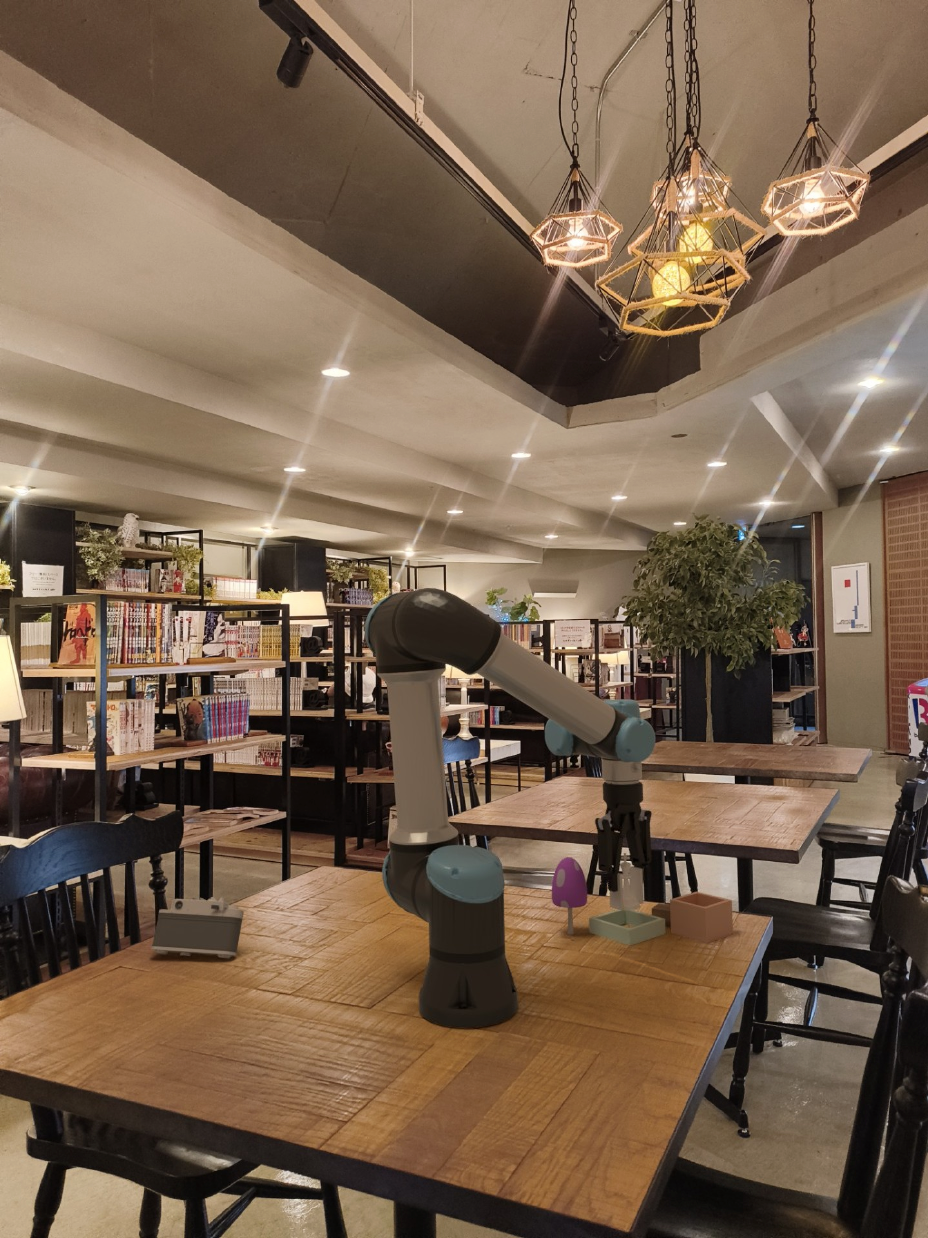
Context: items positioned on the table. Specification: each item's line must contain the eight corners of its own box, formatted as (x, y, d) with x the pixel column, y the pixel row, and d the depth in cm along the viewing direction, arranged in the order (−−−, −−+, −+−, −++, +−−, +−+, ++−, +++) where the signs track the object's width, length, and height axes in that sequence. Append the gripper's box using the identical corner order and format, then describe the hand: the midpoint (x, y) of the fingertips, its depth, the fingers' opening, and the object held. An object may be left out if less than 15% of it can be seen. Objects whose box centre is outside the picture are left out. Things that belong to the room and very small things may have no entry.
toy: (590, 943, 162) (588, 861, 162) (554, 943, 162) (552, 862, 162) (586, 931, 168) (584, 853, 169) (551, 932, 169) (549, 853, 169)
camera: (230, 957, 155) (240, 897, 160) (145, 951, 157) (158, 892, 162) (247, 962, 163) (257, 905, 168) (166, 956, 165) (178, 900, 170)
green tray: (629, 950, 158) (629, 930, 158) (589, 936, 165) (589, 918, 166) (665, 937, 164) (665, 919, 164) (625, 925, 172) (624, 907, 172)
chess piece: (640, 911, 162) (637, 856, 162) (613, 910, 163) (611, 856, 163) (640, 903, 167) (638, 850, 167) (614, 902, 168) (612, 850, 168)
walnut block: (672, 932, 167) (671, 911, 167) (652, 929, 169) (651, 908, 170) (679, 926, 171) (678, 906, 171) (659, 923, 173) (658, 903, 173)
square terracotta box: (706, 948, 158) (705, 908, 158) (671, 937, 164) (669, 899, 164) (733, 938, 163) (731, 900, 163) (697, 928, 169) (696, 891, 169)
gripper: (604, 788, 157) (609, 919, 156) (668, 777, 168) (673, 900, 167) (574, 784, 163) (579, 910, 162) (638, 774, 174) (642, 892, 173)
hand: (626, 905), depth 165 cm, fingers closed on chess piece, 5 cm apart
